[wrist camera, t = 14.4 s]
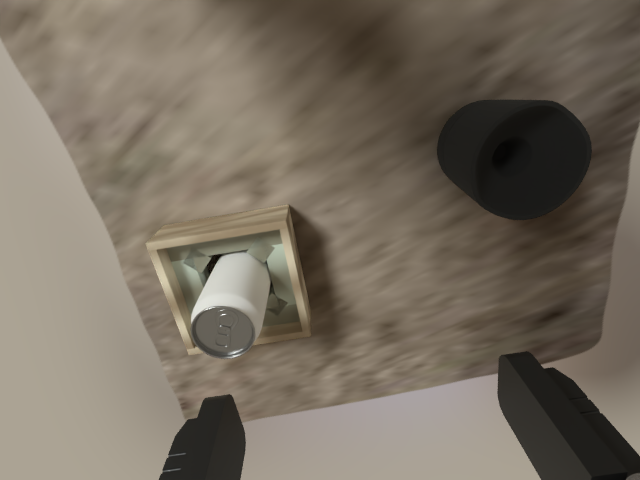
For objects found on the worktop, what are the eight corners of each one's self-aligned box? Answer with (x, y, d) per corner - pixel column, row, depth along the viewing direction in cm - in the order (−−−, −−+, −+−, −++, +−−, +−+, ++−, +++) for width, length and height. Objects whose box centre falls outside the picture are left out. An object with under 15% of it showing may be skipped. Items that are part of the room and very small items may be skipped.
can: (277, 250, 42) (266, 310, 31) (266, 297, 45) (252, 368, 34) (221, 238, 41) (189, 295, 30) (213, 286, 44) (181, 355, 33)
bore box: (164, 225, 41) (145, 243, 36) (288, 204, 40) (285, 220, 35) (201, 327, 46) (189, 355, 42) (310, 310, 46) (311, 336, 41)
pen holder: (439, 198, 40) (478, 233, 31) (424, 111, 37) (463, 122, 27) (525, 174, 39) (591, 202, 30) (519, 83, 36) (592, 83, 27)
